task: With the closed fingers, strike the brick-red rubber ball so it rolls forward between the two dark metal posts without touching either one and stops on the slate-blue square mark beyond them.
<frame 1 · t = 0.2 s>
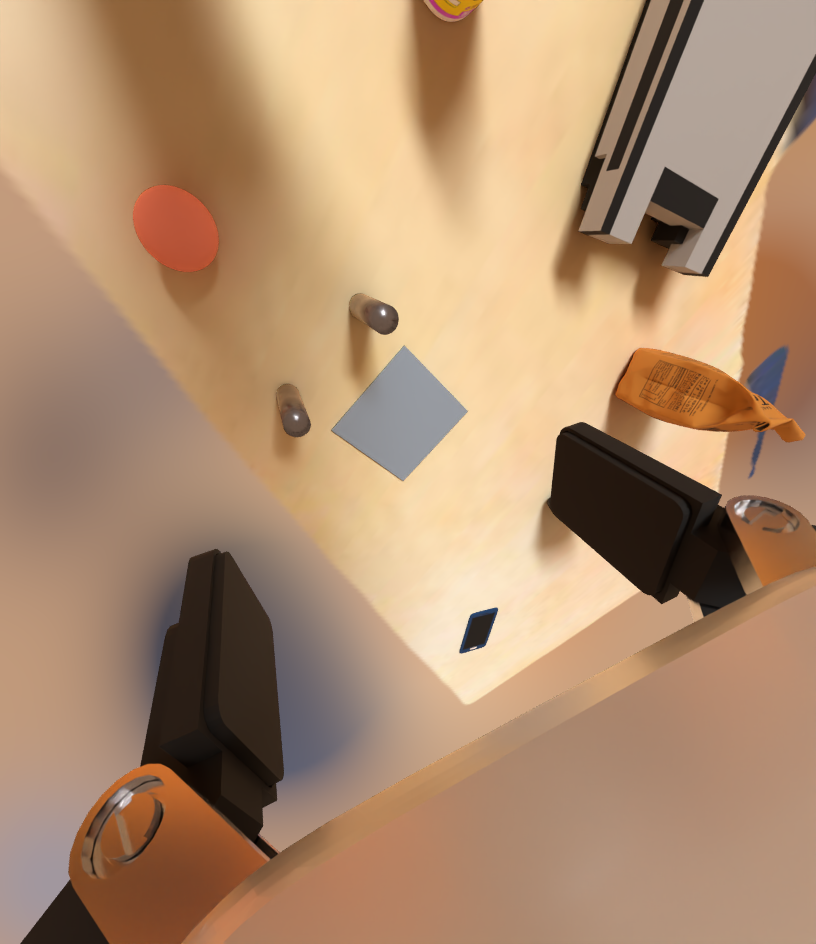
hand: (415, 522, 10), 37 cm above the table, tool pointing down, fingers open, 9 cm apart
cell phone: (476, 628, 87), on the table
post 1: (287, 394, 44), on the table
game console: (676, 99, 43), on the table
coffee package: (640, 378, 64), on the table
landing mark: (403, 419, 51), on the table
post 2: (360, 306, 42), on the table
ball: (178, 230, 31), on the table
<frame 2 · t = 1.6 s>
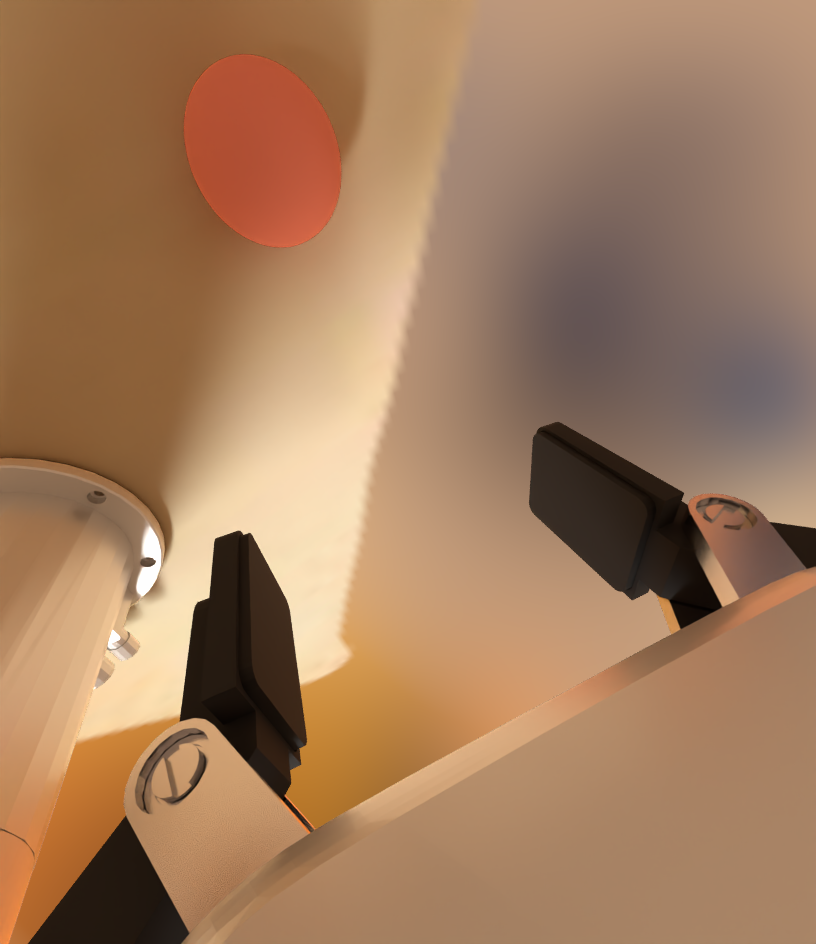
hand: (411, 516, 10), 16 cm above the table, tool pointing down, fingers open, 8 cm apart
ball: (268, 163, 15), on the table
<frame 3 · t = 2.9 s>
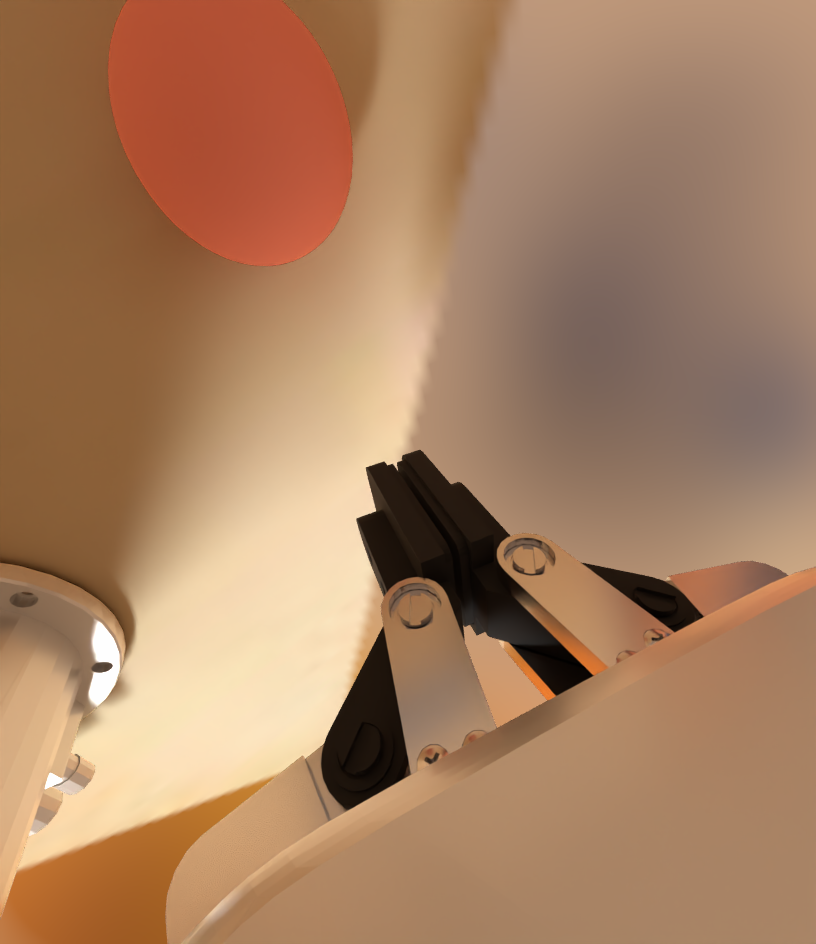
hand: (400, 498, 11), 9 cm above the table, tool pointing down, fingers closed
ball: (244, 144, 10), on the table
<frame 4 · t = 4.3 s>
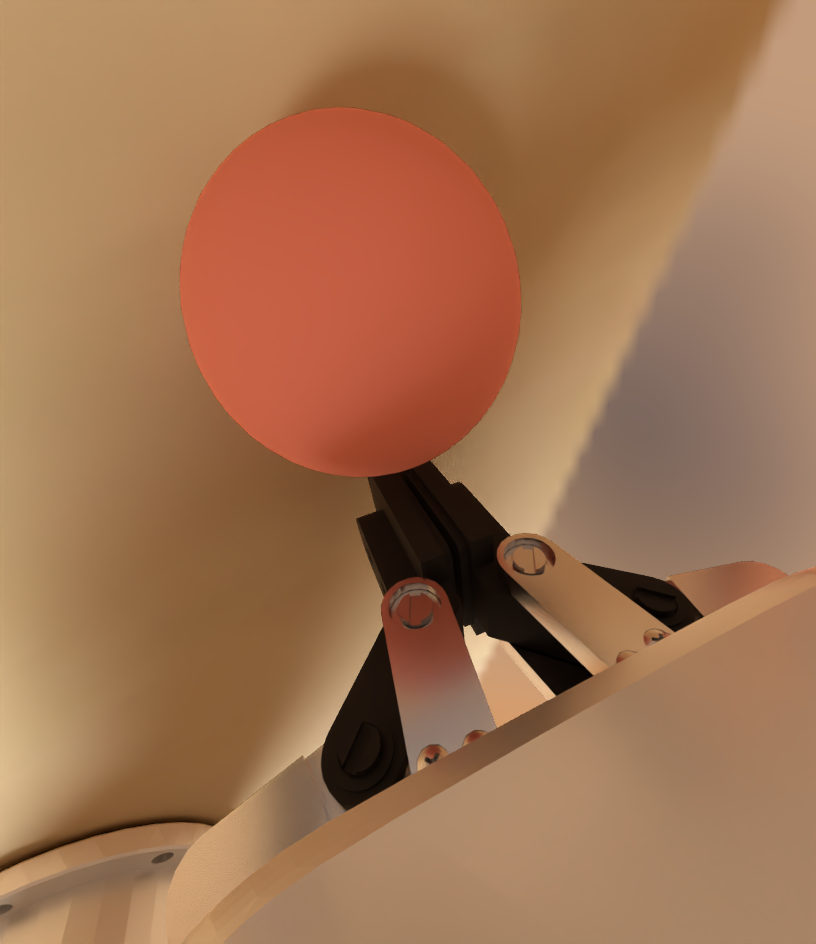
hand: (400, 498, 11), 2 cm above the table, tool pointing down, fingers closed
ball: (360, 323, 7), on the table
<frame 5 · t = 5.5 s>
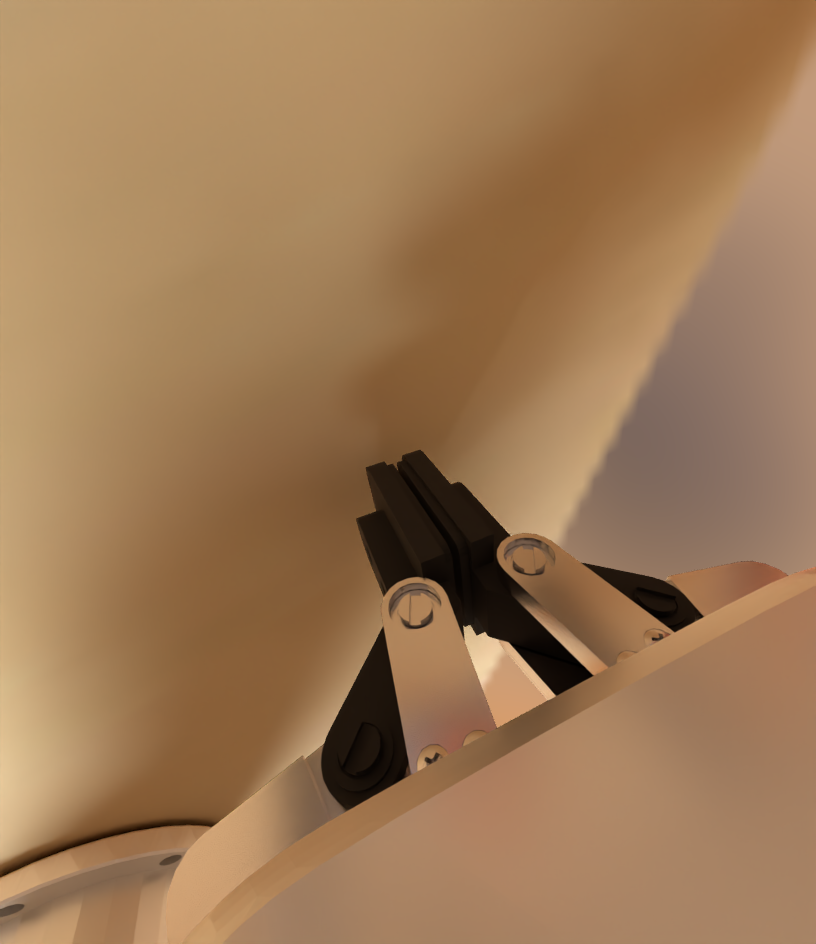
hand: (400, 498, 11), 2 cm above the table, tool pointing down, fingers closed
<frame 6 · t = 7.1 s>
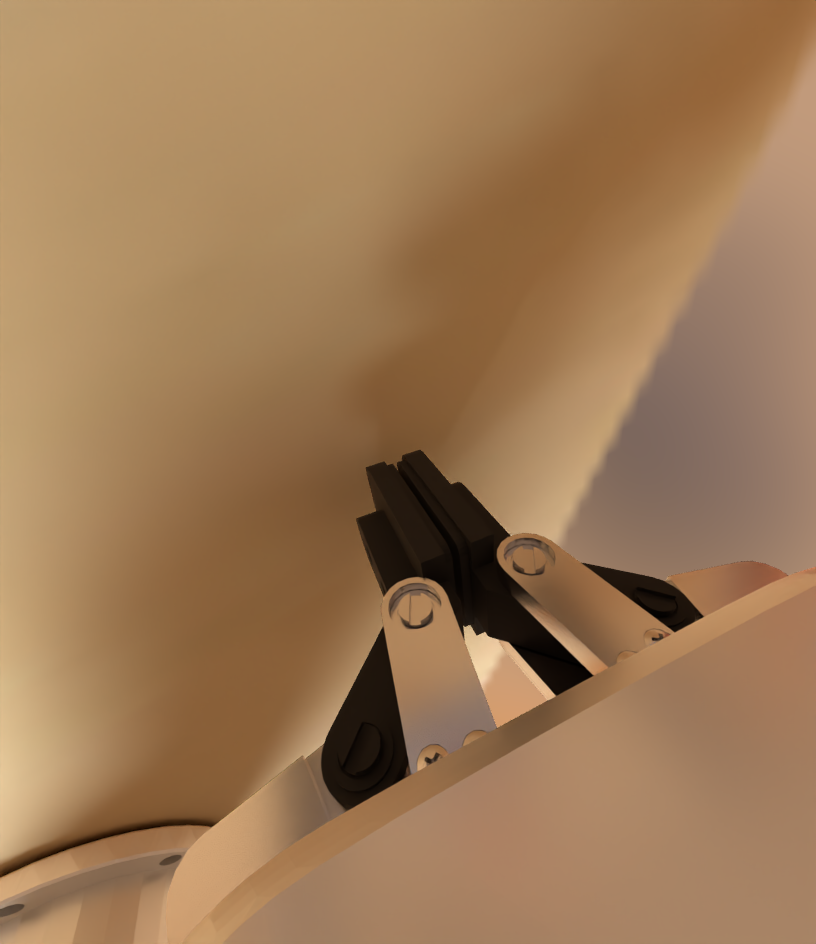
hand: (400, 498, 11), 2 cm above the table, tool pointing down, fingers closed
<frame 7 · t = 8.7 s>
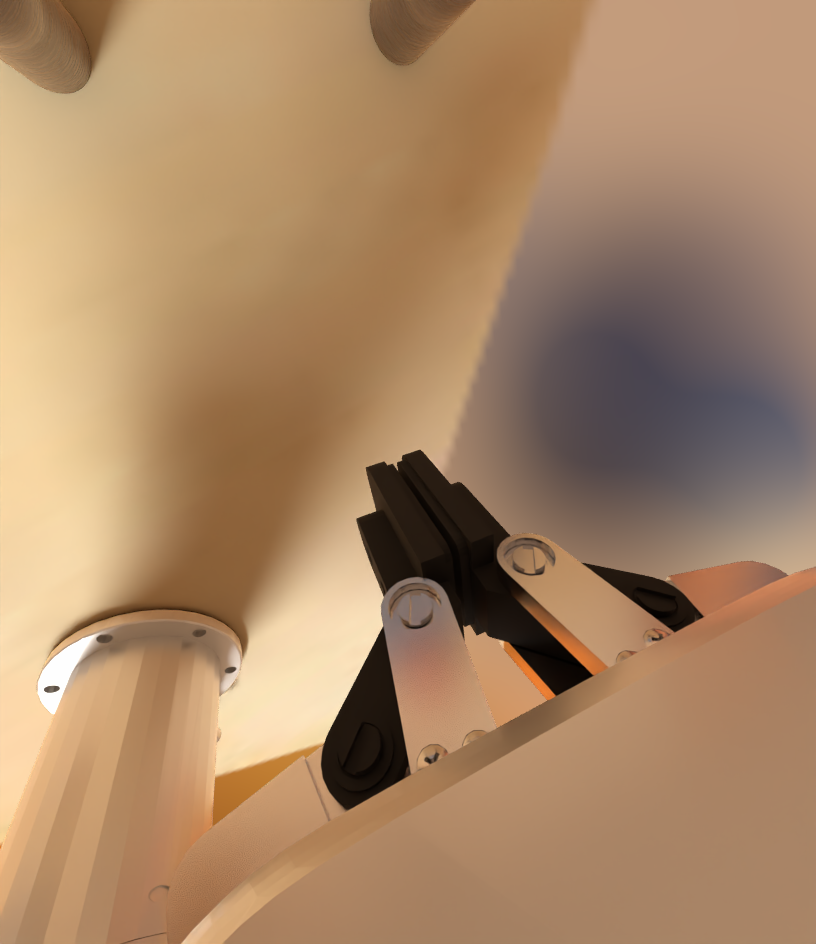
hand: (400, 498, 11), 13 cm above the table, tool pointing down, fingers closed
post 1: (400, 20, 15), on the table
post 2: (42, 40, 13), on the table
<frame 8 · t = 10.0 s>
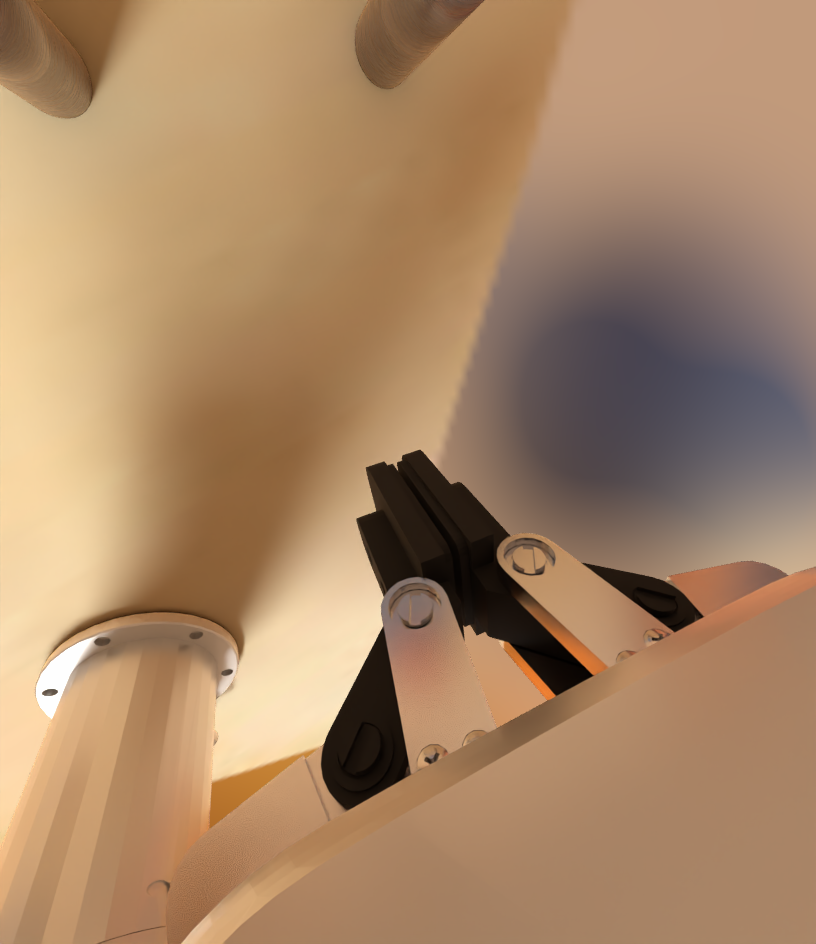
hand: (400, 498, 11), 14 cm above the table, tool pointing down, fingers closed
post 1: (383, 47, 16), on the table
post 2: (46, 69, 13), on the table
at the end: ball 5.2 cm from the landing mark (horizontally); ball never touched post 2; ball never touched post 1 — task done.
